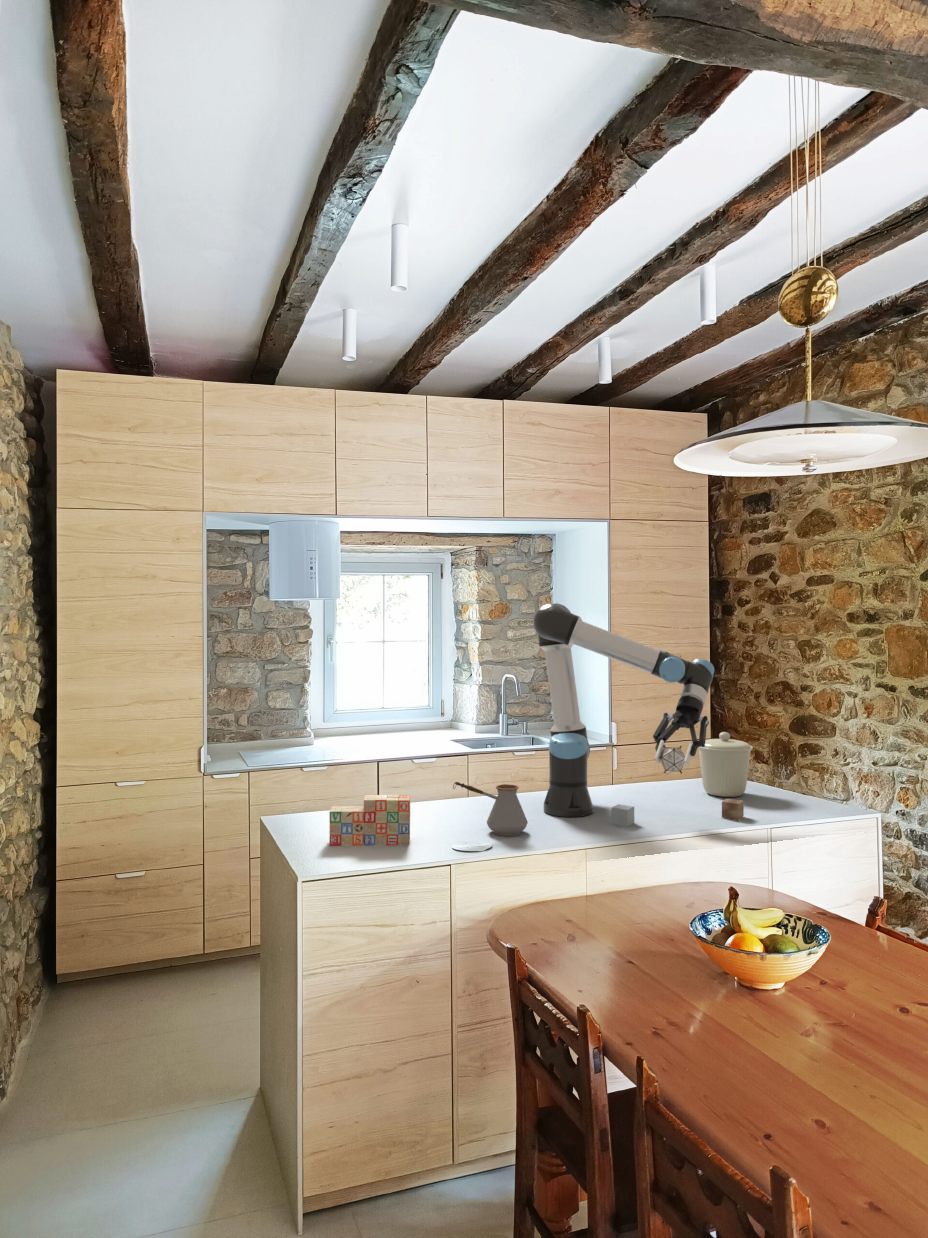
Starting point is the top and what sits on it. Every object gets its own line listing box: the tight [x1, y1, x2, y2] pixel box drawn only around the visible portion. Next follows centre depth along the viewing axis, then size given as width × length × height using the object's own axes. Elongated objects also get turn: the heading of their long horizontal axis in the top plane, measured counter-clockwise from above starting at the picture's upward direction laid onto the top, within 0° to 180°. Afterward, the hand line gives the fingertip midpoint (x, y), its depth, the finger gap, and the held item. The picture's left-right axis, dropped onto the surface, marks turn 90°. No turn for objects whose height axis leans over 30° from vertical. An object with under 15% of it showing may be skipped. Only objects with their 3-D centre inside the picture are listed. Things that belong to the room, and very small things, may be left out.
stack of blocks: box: [328, 794, 411, 847], centre depth 226 cm, size 21×6×12 cm, turn 92°
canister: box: [697, 731, 754, 798], centre depth 285 cm, size 18×18×21 cm
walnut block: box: [721, 798, 745, 821], centre depth 253 cm, size 5×5×5 cm
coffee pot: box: [452, 781, 529, 837], centre depth 235 cm, size 21×12×15 cm, turn 104°
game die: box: [659, 744, 685, 775], centre depth 250 cm, size 9×8×10 cm
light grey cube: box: [610, 803, 635, 828], centre depth 246 cm, size 5×5×5 cm
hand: (671, 761), depth 247 cm, fingers closed on game die, 8 cm apart
